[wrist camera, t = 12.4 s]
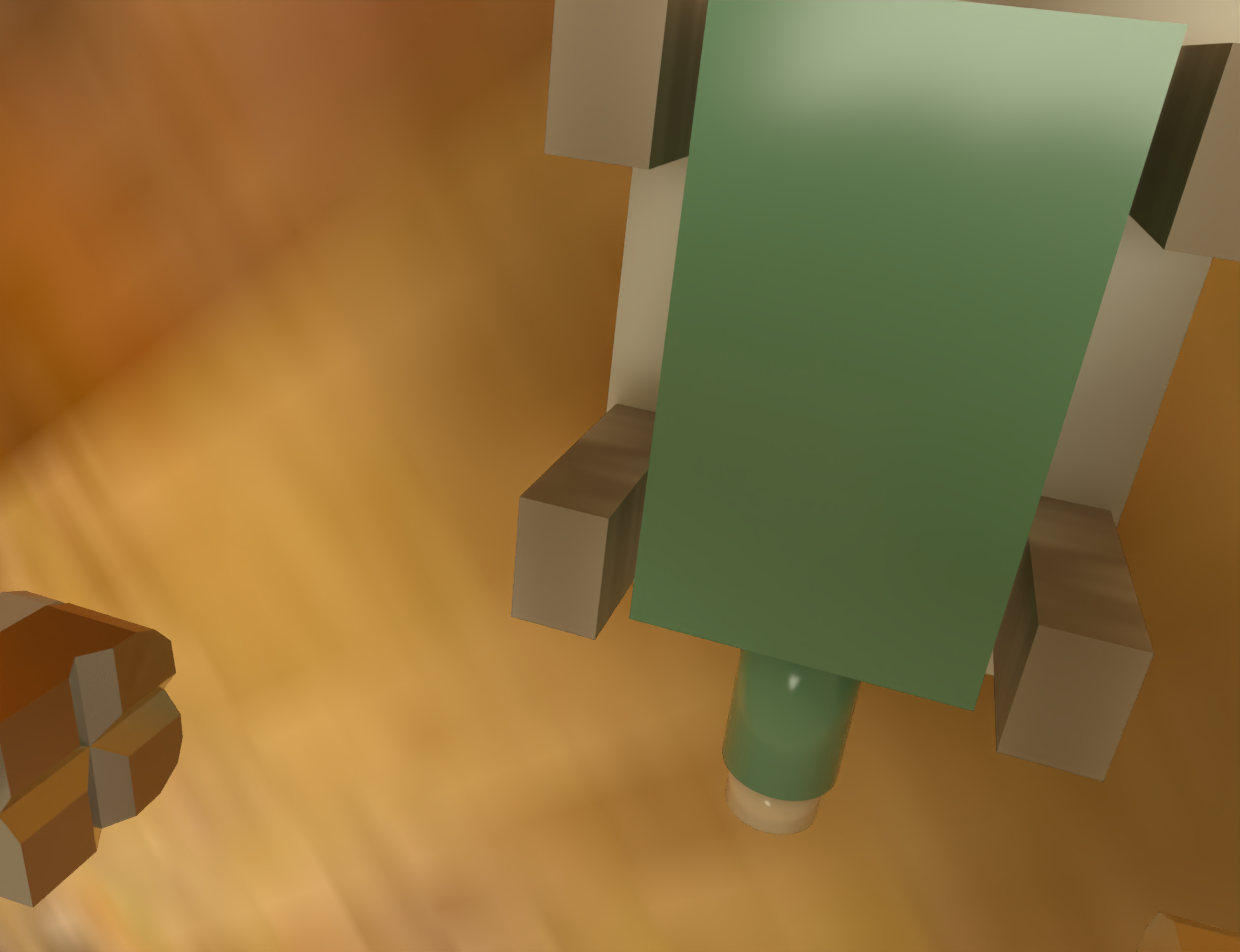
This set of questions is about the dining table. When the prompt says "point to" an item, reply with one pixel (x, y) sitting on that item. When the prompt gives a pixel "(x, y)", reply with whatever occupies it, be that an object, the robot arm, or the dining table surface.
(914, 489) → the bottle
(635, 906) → the dining table surface
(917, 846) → the dining table surface
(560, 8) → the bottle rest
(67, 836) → the robot arm
